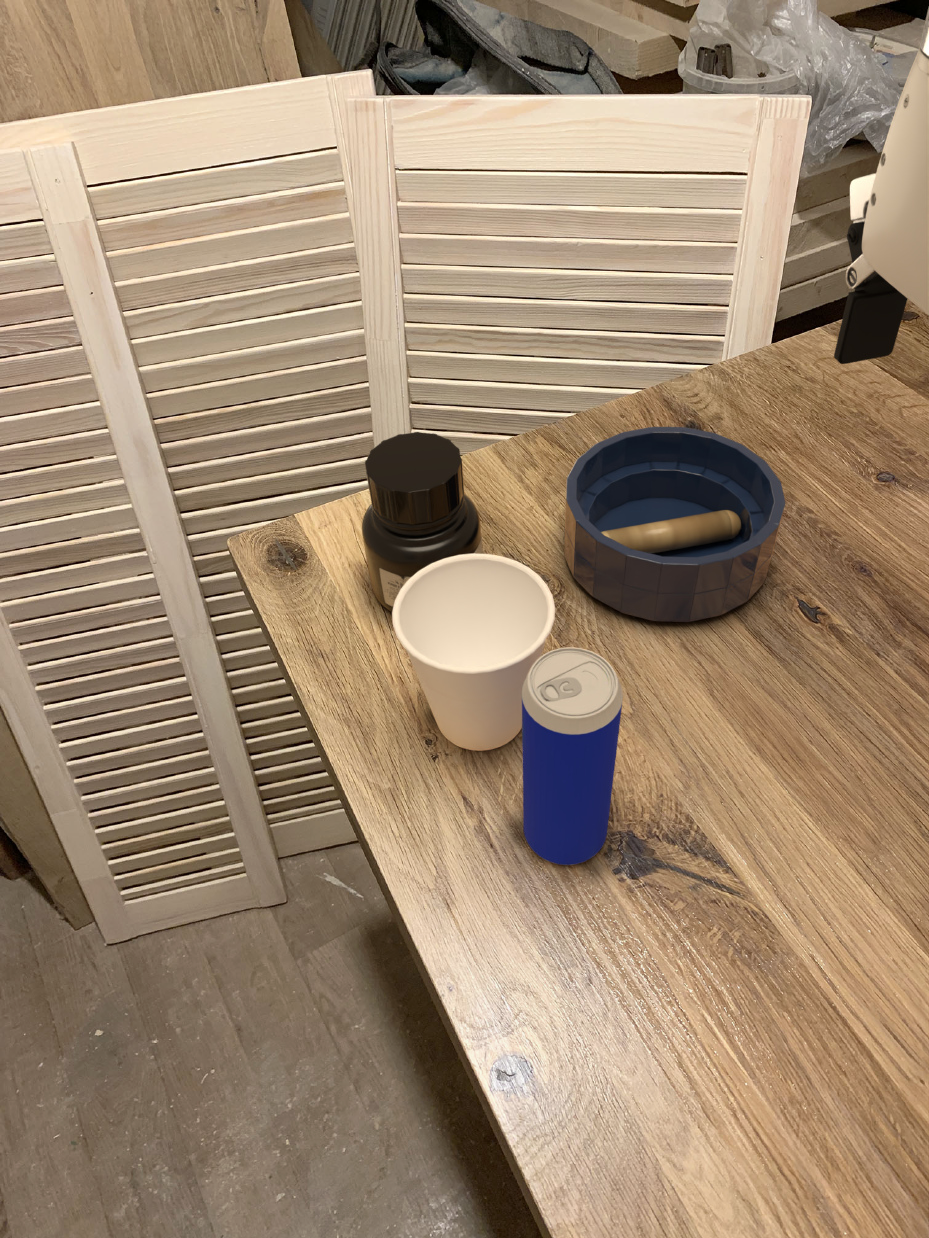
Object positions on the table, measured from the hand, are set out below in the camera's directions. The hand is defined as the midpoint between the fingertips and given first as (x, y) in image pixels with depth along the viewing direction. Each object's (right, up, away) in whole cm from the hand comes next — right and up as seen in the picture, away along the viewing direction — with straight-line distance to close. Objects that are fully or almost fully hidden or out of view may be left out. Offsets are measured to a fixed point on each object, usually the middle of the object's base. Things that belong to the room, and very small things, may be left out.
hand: (910, 404), depth 48 cm
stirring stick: (-7, -5, +26) cm, 27 cm away
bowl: (-7, -6, +26) cm, 28 cm away
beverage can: (-17, -25, +10) cm, 31 cm away
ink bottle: (-26, -8, +26) cm, 37 cm away
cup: (-22, -18, +16) cm, 33 cm away
